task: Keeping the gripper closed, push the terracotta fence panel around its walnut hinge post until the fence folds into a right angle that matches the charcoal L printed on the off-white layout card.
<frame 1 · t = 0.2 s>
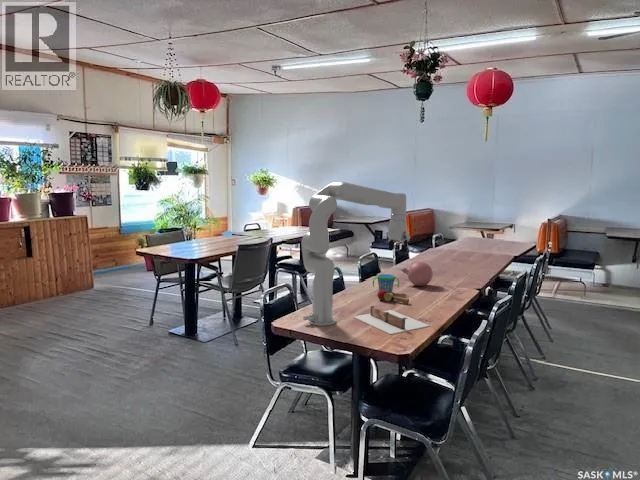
hand: (397, 250, 243), 31 cm above the table, tool pointing down, fingers open, 9 cm apart
kendama: (393, 302, 261), on the table
layout card: (390, 321, 226), on the table
swing panel: (378, 313, 230), point 3 cm above the table, hinge at 0.0°
snack cup: (385, 292, 281), on the table
balloon: (416, 285, 299), on the table
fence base: (386, 322, 224), resting on layout card
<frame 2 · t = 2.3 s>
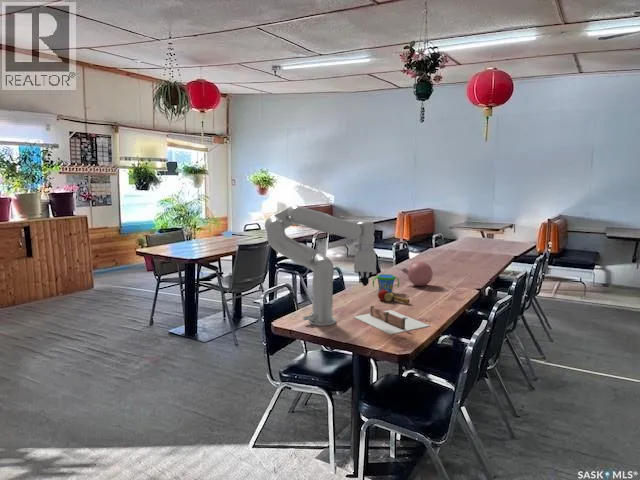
hand: (365, 285, 227), 17 cm above the table, tool pointing down, fingers closed
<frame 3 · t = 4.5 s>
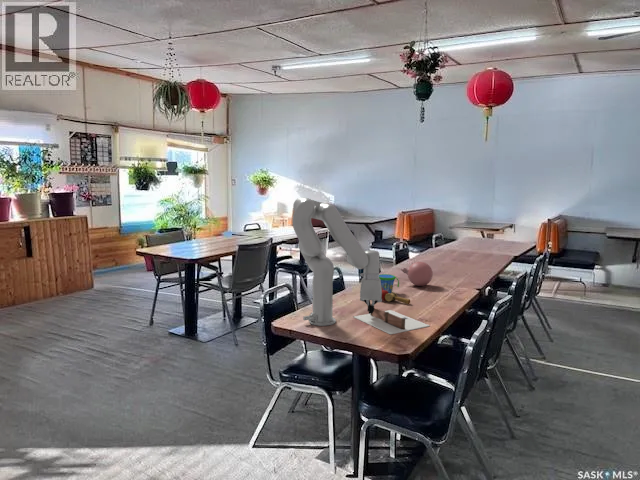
hand: (370, 312, 231), 3 cm above the table, tool pointing down, fingers closed
swing panel: (378, 313, 230), point 3 cm above the table, hinge at 0.0°, touching gripper
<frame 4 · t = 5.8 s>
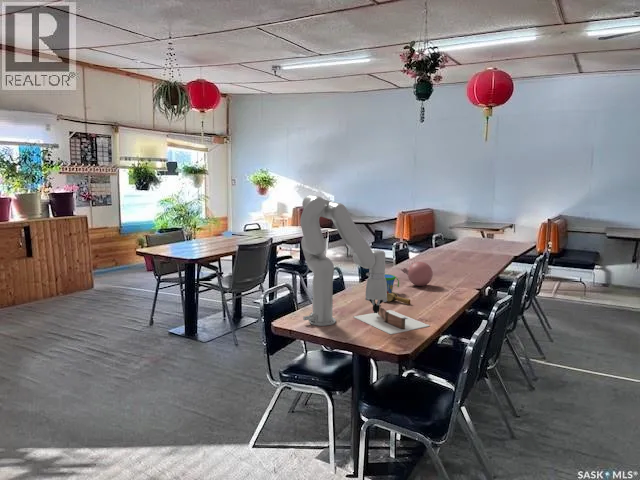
hand: (375, 312, 233), 2 cm above the table, tool pointing down, fingers closed
swing panel: (382, 312, 230), point 3 cm above the table, hinge at -19.9°, touching gripper
everything else where it was.
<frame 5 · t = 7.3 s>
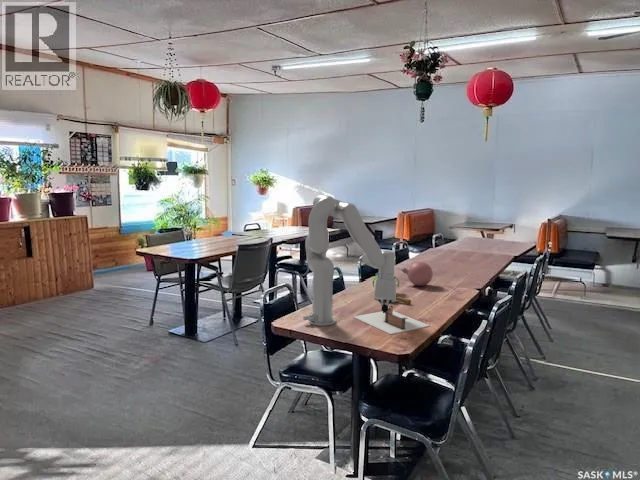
hand: (384, 312, 233), 2 cm above the table, tool pointing down, fingers closed
swing panel: (389, 312, 230), point 3 cm above the table, hinge at -47.4°, touching gripper
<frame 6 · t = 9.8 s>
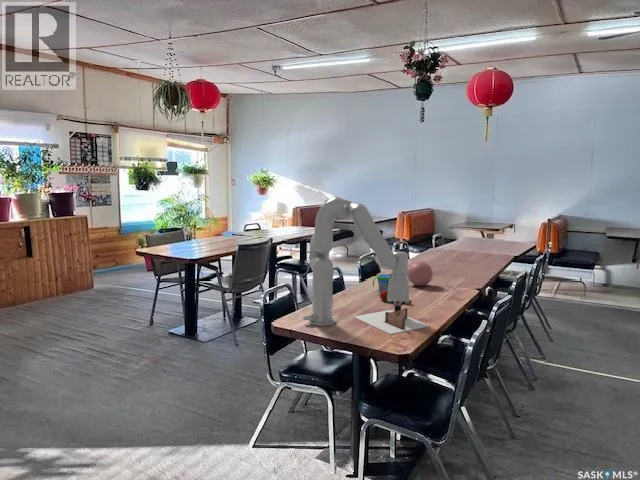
hand: (397, 313, 231), 2 cm above the table, tool pointing down, fingers closed
swing panel: (398, 314, 227), point 3 cm above the table, hinge at -87.7°, touching gripper
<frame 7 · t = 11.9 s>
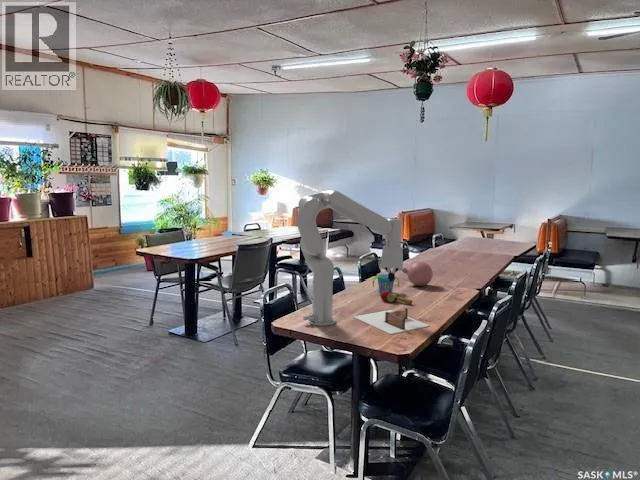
hand: (391, 280, 232), 18 cm above the table, tool pointing down, fingers closed
swing panel: (398, 314, 227), point 3 cm above the table, hinge at -88.4°
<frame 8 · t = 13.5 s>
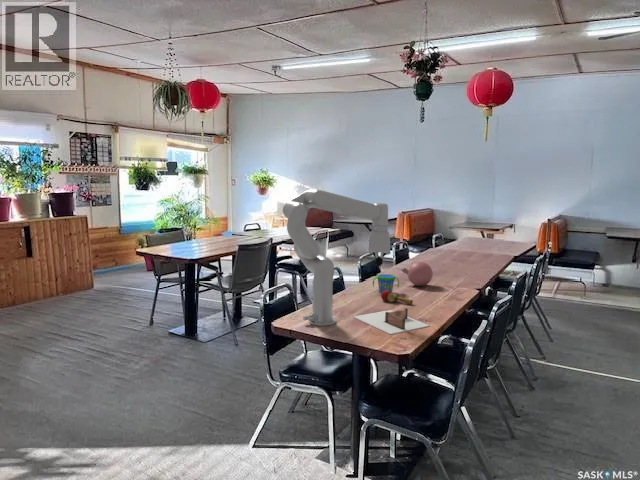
hand: (379, 265, 233), 25 cm above the table, tool pointing down, fingers closed
at the end: swing panel at -88° (first picture: +0°) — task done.
